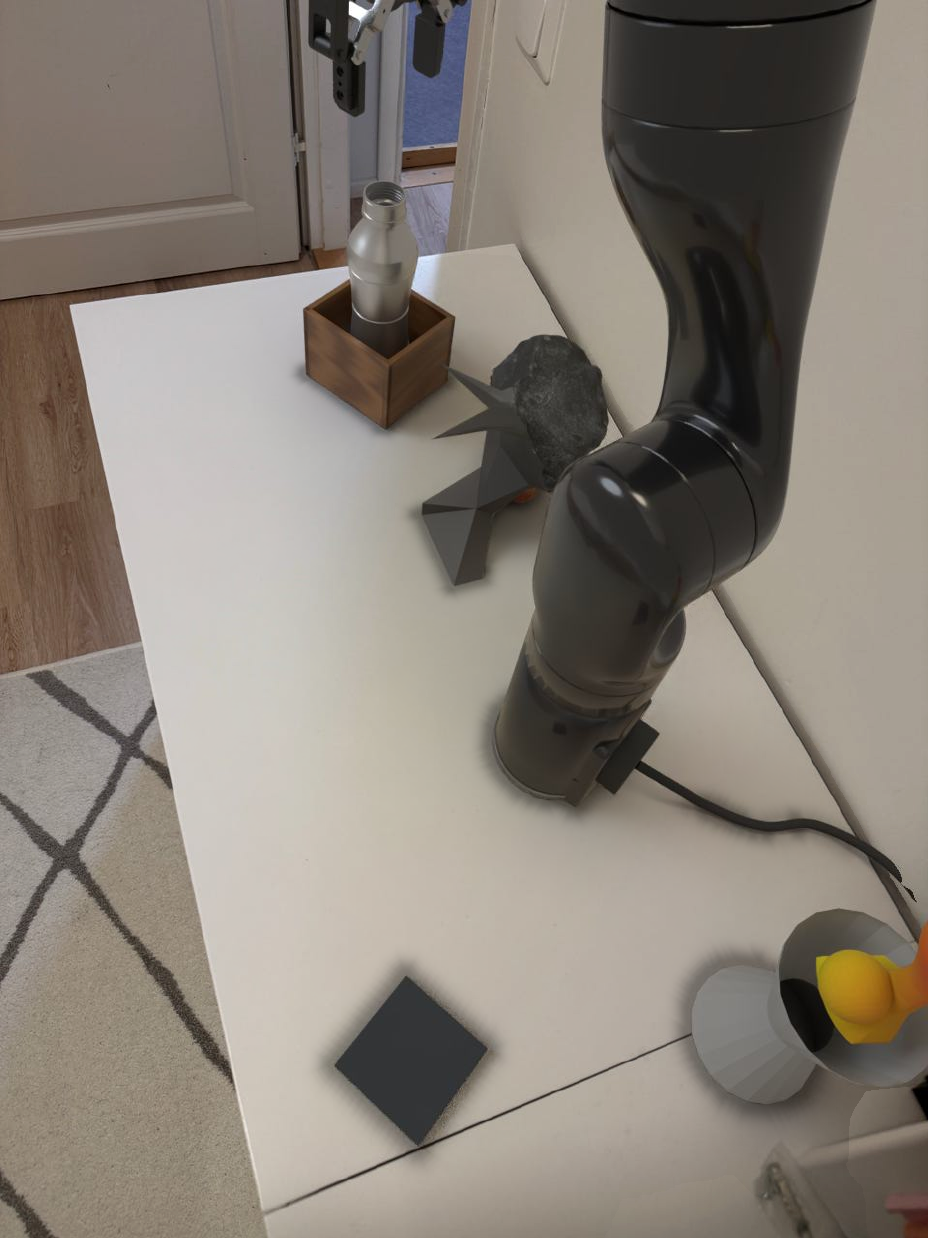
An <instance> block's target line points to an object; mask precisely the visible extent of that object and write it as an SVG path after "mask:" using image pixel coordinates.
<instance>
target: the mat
mask: <svg viewBox="0 0 928 1238" xmlns="http://www.w3.org/2000/svg"><path fill="white" fill-rule="evenodd" d="M487 1051H488V1047H487V1046H486V1045H485V1044H483V1043H482V1042H481V1040H480V1039H478V1038H477V1037H476V1036H475V1035H474V1034H472V1033H471V1032H470V1031H469V1030H468V1029H467V1028H466V1027H465V1026H463V1025H462V1024H461V1023H460V1022H459V1021H458V1020H457V1019H456V1018H454V1017H453V1016H452V1015H451V1014H450V1013H449V1011H447V1010H445V1009H444V1007H442V1006H441V1005H440V1004H439V1003H438V1002H436V1001H435V999H434V998H432V997H431V996H430V995H429V994H428V993H427V992H426V991H425V990H423V989H422V988H421V987H420V986H419V985H418V984H417V983H415V982H414V981H413V980H412V979H411V978H410V977H409V976H408V975H405V976H404V977H403V979H402V980H401V981H400V982H399V984H398V985H397V986H396V987H395V989H394V990H393V991H392V993H391V994H390V995H389V996H388V998H387V999H386V1000H385V1001H384V1002H383V1004H382V1005H381V1006H380V1008H378V1010H377V1011H376V1012H375V1014H373V1016H372V1017H371V1018H370V1020H369V1021H368V1022H367V1023H366V1025H365V1026H364V1027H363V1029H362V1030H361V1031H360V1032H359V1033H358V1035H357V1036H356V1037H355V1038H354V1040H353V1041H352V1042H351V1043H350V1045H349V1046H348V1048H346V1050H345V1051H344V1052H343V1053H342V1055H340V1057H339V1059H338V1060H337V1061H336V1062H335V1063H334V1067H335V1068H336V1069H337V1070H338V1071H339V1072H340V1073H341V1074H342V1075H343V1076H344V1077H345V1078H346V1079H347V1080H348V1081H349V1082H350V1083H352V1085H353V1086H354V1087H355V1088H357V1089H358V1090H359V1092H361V1093H362V1094H363V1095H364V1096H365V1097H366V1098H367V1100H369V1101H370V1102H371V1103H372V1104H373V1105H375V1107H376V1108H377V1109H379V1110H380V1112H382V1113H383V1114H384V1116H385V1117H387V1118H388V1119H389V1120H390V1121H391V1122H392V1123H393V1124H394V1125H395V1126H396V1127H398V1129H399V1130H401V1132H402V1133H403V1134H405V1135H406V1137H408V1138H409V1139H410V1141H412V1142H413V1143H414V1144H415V1145H416V1146H419V1145H420V1144H421V1143H422V1142H423V1140H424V1139H425V1137H426V1136H427V1134H428V1133H429V1132H430V1131H431V1129H432V1128H433V1126H434V1125H435V1124H436V1122H437V1121H438V1119H439V1118H440V1116H442V1113H443V1112H444V1111H445V1109H446V1108H447V1106H448V1105H449V1104H450V1103H451V1101H452V1099H453V1098H454V1097H455V1095H456V1094H457V1092H459V1090H460V1088H461V1087H462V1085H463V1084H464V1083H465V1081H466V1080H467V1078H469V1076H470V1075H471V1073H472V1072H473V1070H474V1069H475V1067H476V1066H477V1064H479V1062H480V1061H481V1059H482V1058H483V1056H484V1055H485V1053H486V1052H487Z"/></svg>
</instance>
